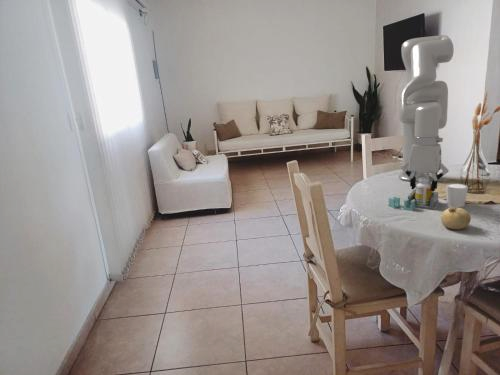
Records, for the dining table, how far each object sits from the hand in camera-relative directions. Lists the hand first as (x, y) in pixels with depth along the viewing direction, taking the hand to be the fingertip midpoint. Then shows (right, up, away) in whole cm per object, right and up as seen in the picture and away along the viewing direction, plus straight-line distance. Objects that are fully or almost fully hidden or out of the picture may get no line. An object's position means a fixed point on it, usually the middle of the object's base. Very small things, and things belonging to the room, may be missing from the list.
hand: (423, 188), depth 130 cm
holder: (+1, -6, +2) cm, 6 cm away
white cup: (+11, -6, -1) cm, 13 cm away
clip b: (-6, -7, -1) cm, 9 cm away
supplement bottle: (0, -5, +1) cm, 5 cm away
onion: (+1, -12, -19) cm, 22 cm away
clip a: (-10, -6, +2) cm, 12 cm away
